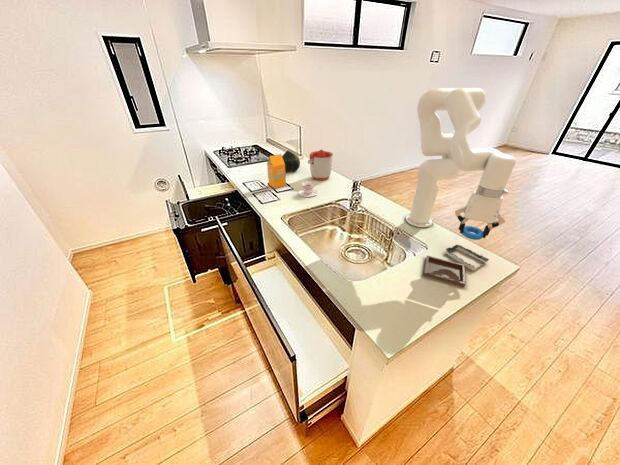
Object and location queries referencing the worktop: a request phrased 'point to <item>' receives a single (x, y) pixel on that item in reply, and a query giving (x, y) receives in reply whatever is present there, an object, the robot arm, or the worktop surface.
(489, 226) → the robot arm
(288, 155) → the squash
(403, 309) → the worktop surface
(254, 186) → the worktop surface
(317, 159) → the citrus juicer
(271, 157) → the orange juice
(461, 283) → the tray
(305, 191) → the teacup
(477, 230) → the ring
